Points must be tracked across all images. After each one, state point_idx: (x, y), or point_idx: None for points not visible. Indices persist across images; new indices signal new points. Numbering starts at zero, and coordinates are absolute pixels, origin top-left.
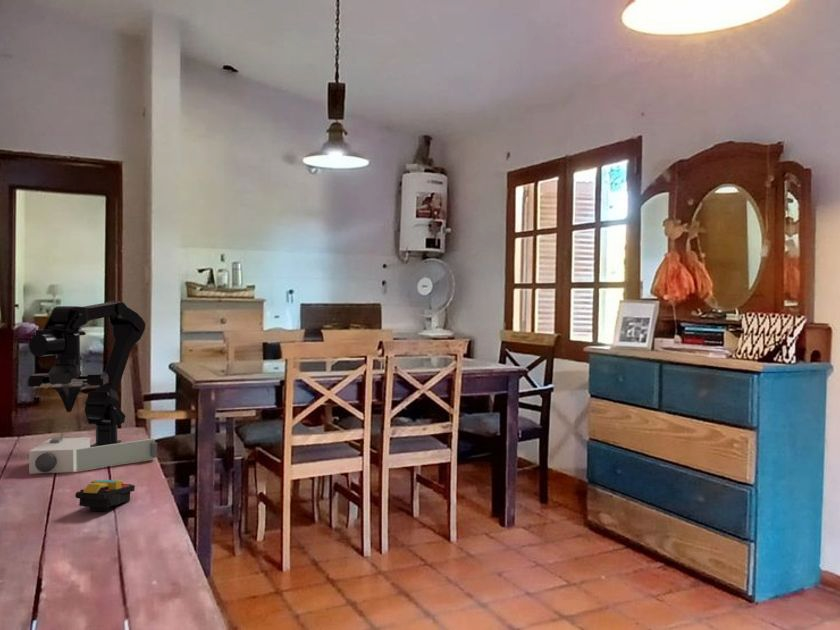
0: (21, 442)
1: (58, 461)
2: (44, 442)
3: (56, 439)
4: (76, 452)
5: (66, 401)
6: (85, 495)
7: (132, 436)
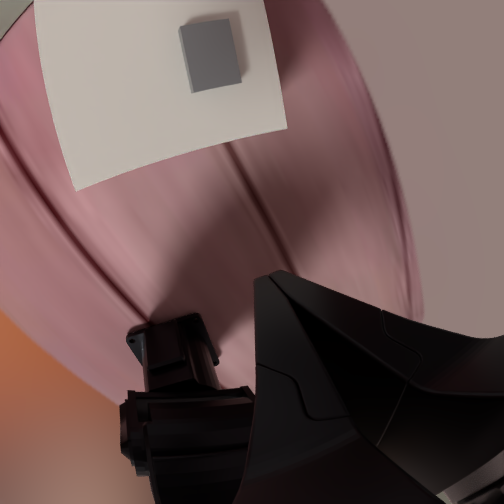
0: (402, 306)
1: None
2: (266, 41)
3: (199, 34)
4: None
5: (329, 320)
6: None
7: None
